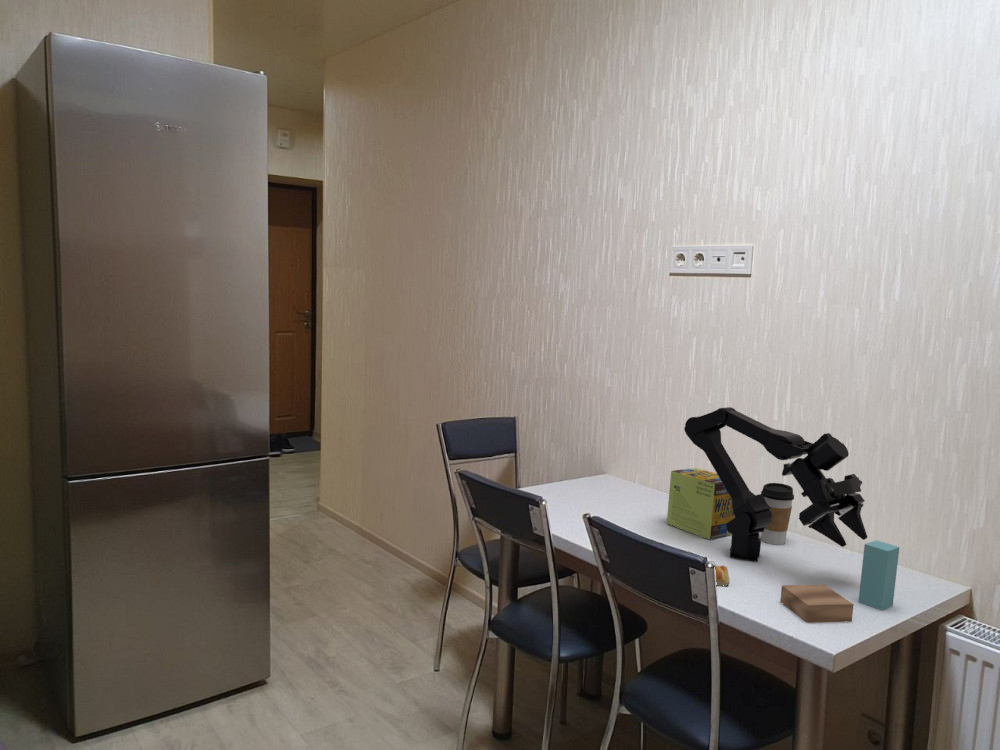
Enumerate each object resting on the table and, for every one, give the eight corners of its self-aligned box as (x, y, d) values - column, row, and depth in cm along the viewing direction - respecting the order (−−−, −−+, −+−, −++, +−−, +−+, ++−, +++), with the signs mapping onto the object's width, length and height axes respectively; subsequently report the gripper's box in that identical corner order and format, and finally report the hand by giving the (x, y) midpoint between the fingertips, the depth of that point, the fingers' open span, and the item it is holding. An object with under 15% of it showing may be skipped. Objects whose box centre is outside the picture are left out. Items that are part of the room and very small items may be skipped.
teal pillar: (858, 602, 163) (864, 544, 162) (869, 597, 166) (876, 540, 165) (881, 610, 159) (888, 551, 158) (892, 605, 162) (899, 547, 161)
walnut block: (780, 603, 161) (781, 585, 161) (822, 602, 163) (824, 584, 162) (806, 624, 151) (808, 605, 151) (851, 623, 153) (853, 604, 153)
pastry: (688, 585, 168) (690, 569, 168) (682, 574, 175) (684, 558, 175) (731, 588, 168) (732, 571, 167) (723, 577, 175) (725, 561, 174)
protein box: (710, 540, 199) (715, 483, 198) (665, 524, 212) (670, 470, 210) (735, 534, 206) (739, 479, 204) (690, 519, 218) (694, 466, 216)
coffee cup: (793, 540, 203) (798, 486, 201) (785, 548, 196) (790, 492, 194) (761, 533, 207) (766, 480, 206) (752, 541, 200) (757, 486, 199)
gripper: (817, 467, 162) (862, 531, 155) (860, 458, 174) (904, 517, 166) (780, 494, 169) (822, 556, 162) (824, 484, 181) (865, 542, 173)
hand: (855, 542), depth 166 cm, fingers open, 9 cm apart
